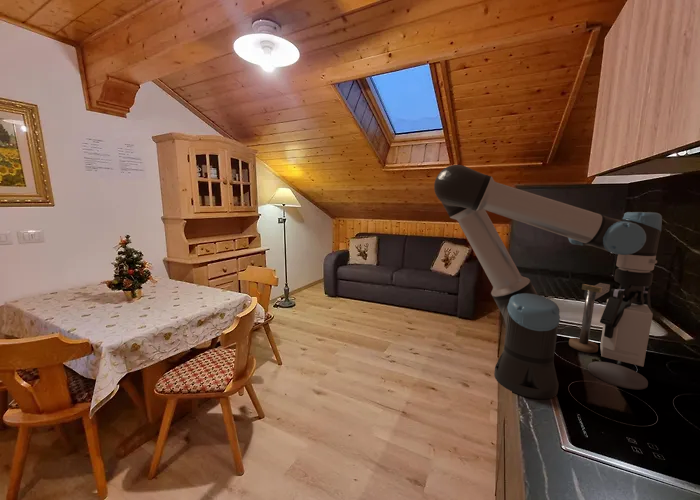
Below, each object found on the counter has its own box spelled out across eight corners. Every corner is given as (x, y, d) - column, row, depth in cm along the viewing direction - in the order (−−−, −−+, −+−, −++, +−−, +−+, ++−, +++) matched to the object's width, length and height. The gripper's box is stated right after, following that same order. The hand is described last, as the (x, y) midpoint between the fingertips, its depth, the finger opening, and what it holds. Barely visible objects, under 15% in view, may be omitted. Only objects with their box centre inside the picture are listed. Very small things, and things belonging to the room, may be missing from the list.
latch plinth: (588, 354, 100) (588, 350, 100) (563, 343, 107) (563, 339, 107) (603, 350, 103) (604, 346, 103) (578, 340, 110) (578, 336, 110)
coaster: (630, 393, 80) (630, 391, 79) (577, 368, 91) (578, 366, 91) (658, 383, 84) (658, 381, 84) (604, 360, 96) (605, 358, 96)
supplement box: (644, 367, 81) (654, 313, 78) (600, 357, 86) (608, 306, 84) (639, 354, 88) (648, 304, 85) (599, 345, 93) (606, 298, 91)
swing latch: (591, 346, 102) (600, 288, 99) (573, 340, 106) (581, 284, 103) (606, 333, 113) (614, 280, 110) (589, 328, 117) (597, 277, 114)
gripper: (624, 276, 75) (611, 358, 78) (676, 269, 84) (663, 343, 87) (590, 269, 82) (580, 345, 85) (642, 264, 91) (631, 333, 94)
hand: (622, 344), depth 86 cm, fingers closed on supplement box, 12 cm apart
